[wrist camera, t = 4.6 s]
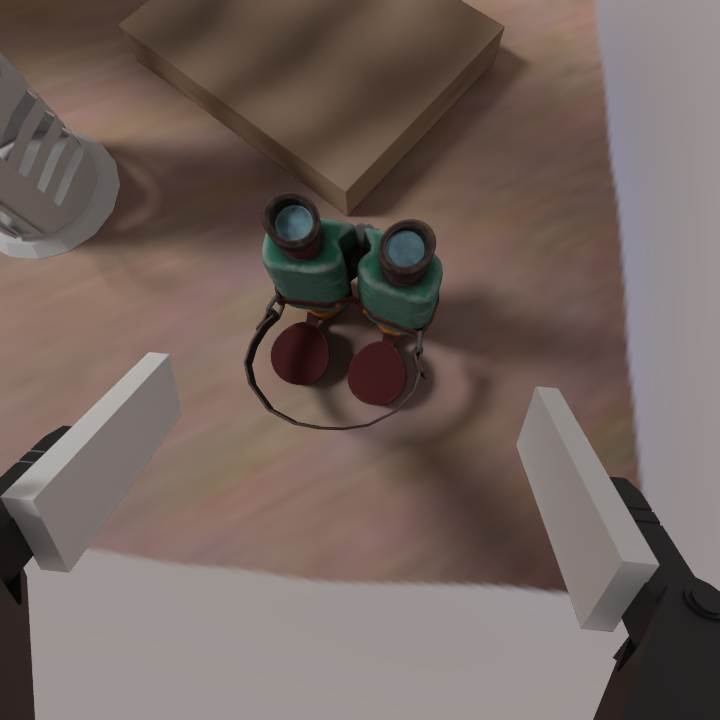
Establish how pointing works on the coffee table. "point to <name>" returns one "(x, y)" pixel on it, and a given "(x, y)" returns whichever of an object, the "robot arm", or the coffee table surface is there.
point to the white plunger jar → (47, 176)
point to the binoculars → (345, 296)
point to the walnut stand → (320, 76)
